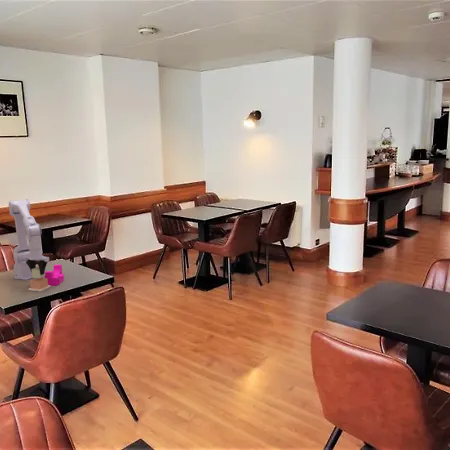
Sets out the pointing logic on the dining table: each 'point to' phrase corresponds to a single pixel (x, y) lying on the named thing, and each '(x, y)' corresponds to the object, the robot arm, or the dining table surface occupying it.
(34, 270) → the sage brick
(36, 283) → the terracotta brick
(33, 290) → the baseplate
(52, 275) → the toy block
